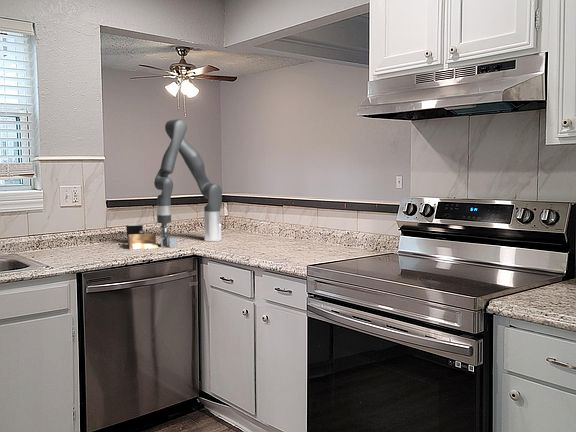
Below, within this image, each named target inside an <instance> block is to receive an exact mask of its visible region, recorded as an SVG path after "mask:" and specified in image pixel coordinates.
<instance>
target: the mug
mask: <svg viewBox="0 0 576 432" xmlns="http://www.w3.org/2000/svg"><path fill="white" fill-rule="evenodd" d="M143 226H144V225H143V224H142V223H130V224H126V226H125V227H126V229H125V230H126V237H127V238H126V239H128V235H129V234H144V233H143V232H144V231H143V230H144V229H143V228H144V227H143Z"/></svg>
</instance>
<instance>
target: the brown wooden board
mask: <svg viewBox="0 0 576 432" xmlns="http://www.w3.org/2000/svg"><path fill="white" fill-rule="evenodd" d="M156 236H157V235H156V233H142V234H129V235H128V238H127V243H128V248H129V250H132V249H131V247H133V244H138V243H156V244H157V241H156V240H157V239H156V238H157V237H156Z"/></svg>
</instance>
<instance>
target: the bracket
mask: <svg viewBox="0 0 576 432" xmlns="http://www.w3.org/2000/svg"><path fill="white" fill-rule="evenodd" d="M159 239H160V240H159V241H160V242H159V244H160V247H162V248H165V247H166V248H168V247H169V248H170V249H171V247H172V248H178V237H177V236H174V235H172V236H171V235H170V236H169V235H168V238H167V246H163V237H161V236H160V238H159Z"/></svg>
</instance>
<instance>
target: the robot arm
mask: <svg viewBox="0 0 576 432" xmlns="http://www.w3.org/2000/svg"><path fill="white" fill-rule="evenodd" d="M187 128H188V127H187V122H185V120H183V119H181V118H179V119H178V118H177V119H172V120H168V121H166V123H165V125H164V130H165V133H166V134H167V136H168V137H169V139H170V143H169V145H168V147H167V149H166V150H165V152H164V154H163V156H162V160H161V163H160V164H161V165H160V169H159V170H158V171H157V174H156V176H155V178H154V183H153V184H154V187H155V189H156V190H159V191H161V194H159V195H158V196H157V197H156V198H157V201H156V208H157V209H156V222H157V224H161V225H160V227H159V228H160V237H163V246H167V238H168V236H169V226H168V224H170V223H172V206H171V205H172V204H171V202H172V201H171V198H172V194H173V189H174V182H173V180H172V178H171V177H168V176H169V175H171V174H173V172H174V169H175V165H176V162H177V161H176V160H177V158H178V155H179V154H180V156H181V157H182V159H183V161H184V163H185V164H186V166H187V168H188V169H189V171H190V173H191V175H192V177H193V178H194V180H195V182H196V184H197V186H198V188H199V190H200V194H201V195H202V196H203V198H205V199H207V200H208V201H207V204H206V205H204V207H203V211H204V214H203V216H204V217H203V219H204V223H203V225H204V230H203V231H204V233H203V234H204V238H203V239H204V241H205V242H219V241H222V224H221V208H222V203H223V191H222V190H223V189H222V187H221V185H220V184H218V183H212V182H211V181H210V180H209V178H208V176H207V174H206V170H205V167H206V166H205V162H204V160H203V158H202V157H201V155H200V153H199V152H198V150H197V149H196V148H195V147H194V146H193V145H191V144H190V143H189V141H187V139H186V137H185V135H186V133H187V131H188V129H187ZM178 153H179V154H178Z"/></svg>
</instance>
